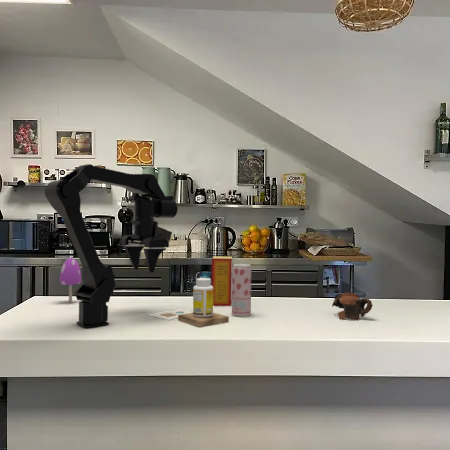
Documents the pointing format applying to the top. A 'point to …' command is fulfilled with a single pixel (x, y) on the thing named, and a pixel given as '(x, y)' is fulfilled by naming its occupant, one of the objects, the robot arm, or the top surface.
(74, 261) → the toy
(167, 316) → the page
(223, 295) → the baking soda box
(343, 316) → the pottery mug
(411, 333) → the top surface
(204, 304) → the supplement bottle
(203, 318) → the base brick
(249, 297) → the beverage can
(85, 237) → the robot arm
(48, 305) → the top surface
